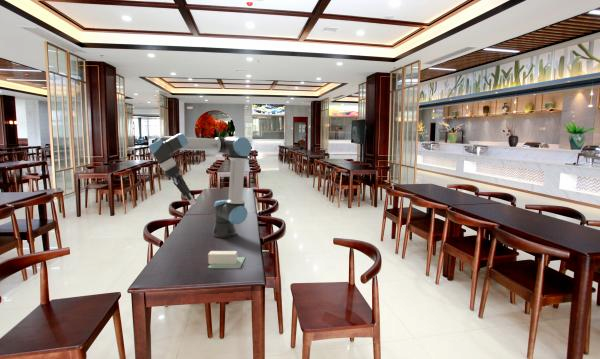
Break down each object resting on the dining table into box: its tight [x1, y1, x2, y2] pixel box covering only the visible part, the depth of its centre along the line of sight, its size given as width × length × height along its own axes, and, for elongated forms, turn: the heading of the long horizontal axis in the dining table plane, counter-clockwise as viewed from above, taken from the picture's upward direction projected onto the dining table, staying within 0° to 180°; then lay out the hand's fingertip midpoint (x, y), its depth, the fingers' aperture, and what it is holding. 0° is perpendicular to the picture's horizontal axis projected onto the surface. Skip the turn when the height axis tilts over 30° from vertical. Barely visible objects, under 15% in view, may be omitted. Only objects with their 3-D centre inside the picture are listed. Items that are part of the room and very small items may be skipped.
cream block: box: [207, 250, 238, 265], centre depth 179 cm, size 5×5×14 cm
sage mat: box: [207, 256, 246, 269], centre depth 179 cm, size 14×16×1 cm
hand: (193, 204), depth 193 cm, fingers closed
